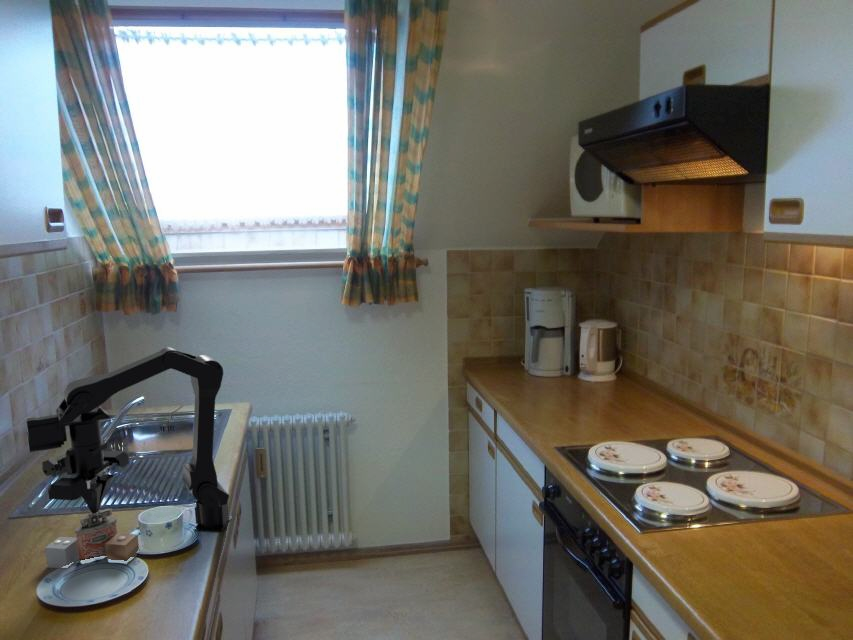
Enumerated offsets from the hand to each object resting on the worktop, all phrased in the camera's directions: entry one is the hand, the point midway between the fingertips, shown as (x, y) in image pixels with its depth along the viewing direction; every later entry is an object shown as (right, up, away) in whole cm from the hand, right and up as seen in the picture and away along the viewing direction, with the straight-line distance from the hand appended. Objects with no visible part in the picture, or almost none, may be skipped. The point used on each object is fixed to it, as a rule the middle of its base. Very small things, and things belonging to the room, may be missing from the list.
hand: (94, 512), depth 142 cm
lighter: (0, -10, +2) cm, 10 cm away
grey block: (-6, -10, 0) cm, 12 cm away
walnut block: (+6, -10, +1) cm, 12 cm away
